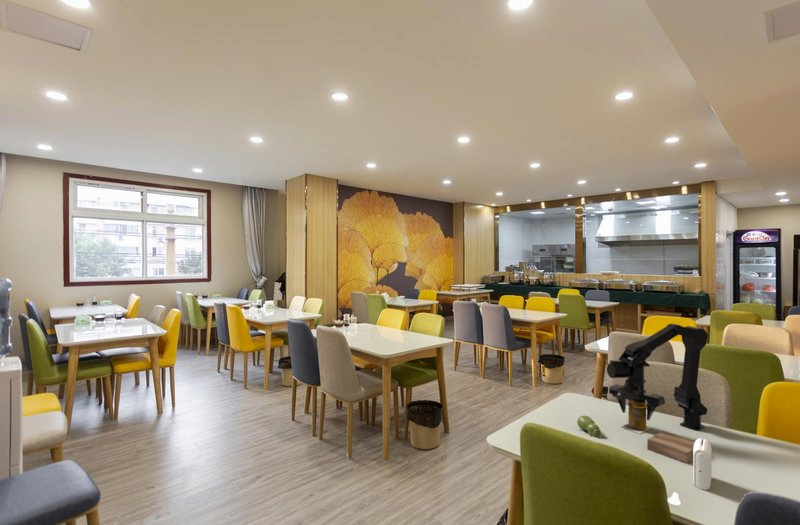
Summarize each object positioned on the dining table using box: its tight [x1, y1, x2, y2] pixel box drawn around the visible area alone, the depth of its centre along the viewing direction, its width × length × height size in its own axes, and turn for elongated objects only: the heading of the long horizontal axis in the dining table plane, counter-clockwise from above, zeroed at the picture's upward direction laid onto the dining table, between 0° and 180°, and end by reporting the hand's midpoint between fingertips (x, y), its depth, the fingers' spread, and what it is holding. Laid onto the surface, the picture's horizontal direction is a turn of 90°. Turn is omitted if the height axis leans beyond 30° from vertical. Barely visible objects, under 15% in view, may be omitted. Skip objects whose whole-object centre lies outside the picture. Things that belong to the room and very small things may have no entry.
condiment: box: [621, 398, 652, 435], centre depth 157 cm, size 7×8×12 cm
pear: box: [576, 415, 602, 437], centre depth 154 cm, size 6×5×10 cm
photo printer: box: [692, 438, 713, 491], centre depth 120 cm, size 10×4×12 cm, turn 140°
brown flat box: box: [646, 430, 696, 465], centre depth 138 cm, size 12×12×4 cm
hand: (635, 416), depth 157 cm, fingers open, 9 cm apart
